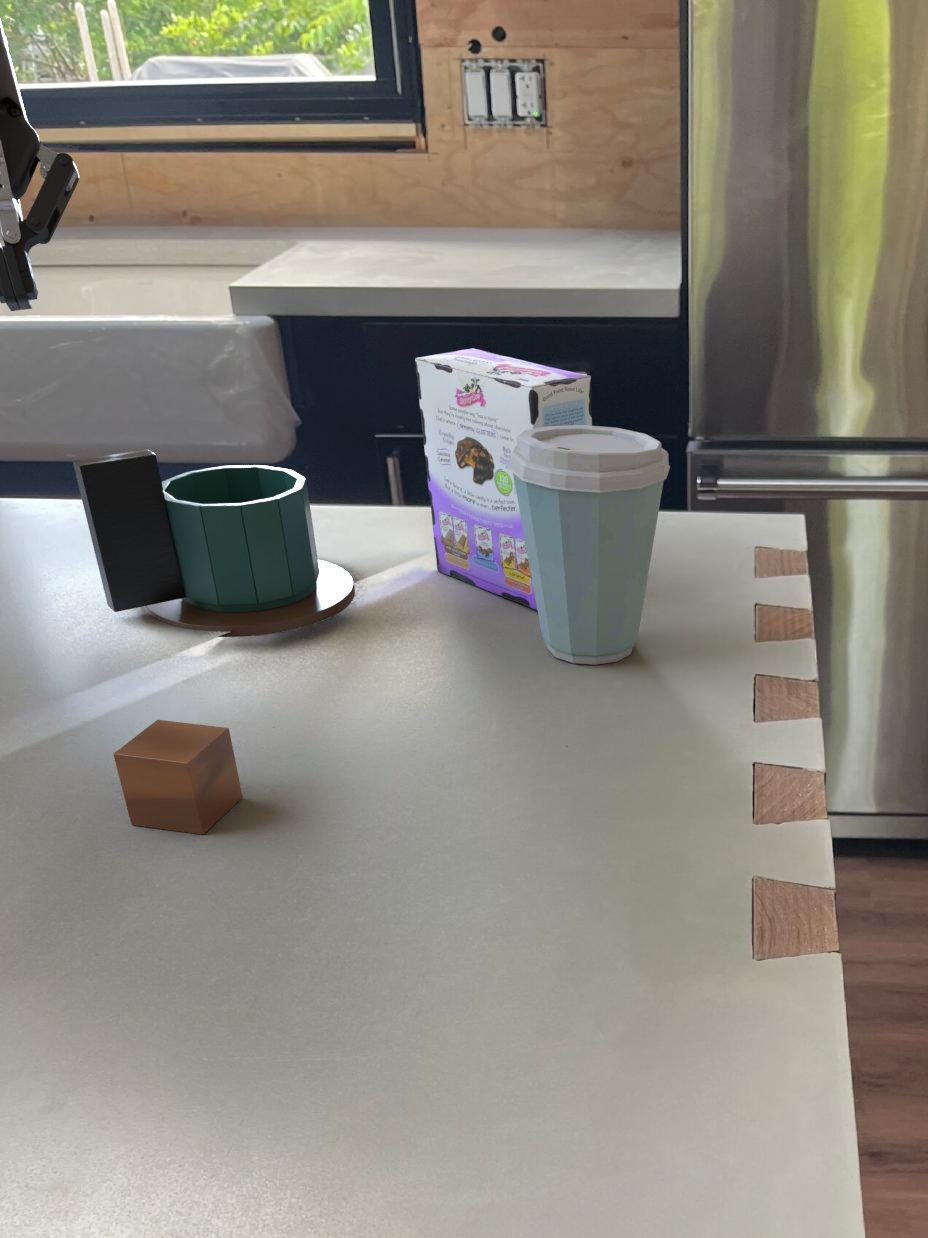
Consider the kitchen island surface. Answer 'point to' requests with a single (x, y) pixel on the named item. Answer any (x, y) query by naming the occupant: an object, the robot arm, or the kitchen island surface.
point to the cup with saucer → (209, 545)
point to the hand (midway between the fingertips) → (19, 306)
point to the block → (179, 776)
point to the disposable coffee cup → (589, 533)
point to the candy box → (487, 457)
